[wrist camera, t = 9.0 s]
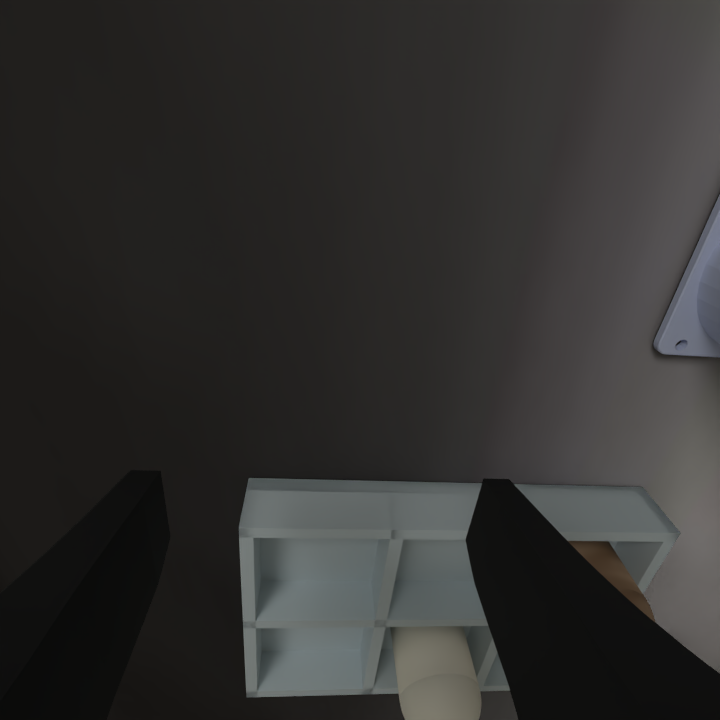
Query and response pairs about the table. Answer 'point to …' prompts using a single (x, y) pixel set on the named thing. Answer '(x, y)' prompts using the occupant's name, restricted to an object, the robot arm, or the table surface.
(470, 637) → the egg carton
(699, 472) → the table surface
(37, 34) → the table surface
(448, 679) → the cream egg
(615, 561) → the walnut egg
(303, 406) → the table surface
